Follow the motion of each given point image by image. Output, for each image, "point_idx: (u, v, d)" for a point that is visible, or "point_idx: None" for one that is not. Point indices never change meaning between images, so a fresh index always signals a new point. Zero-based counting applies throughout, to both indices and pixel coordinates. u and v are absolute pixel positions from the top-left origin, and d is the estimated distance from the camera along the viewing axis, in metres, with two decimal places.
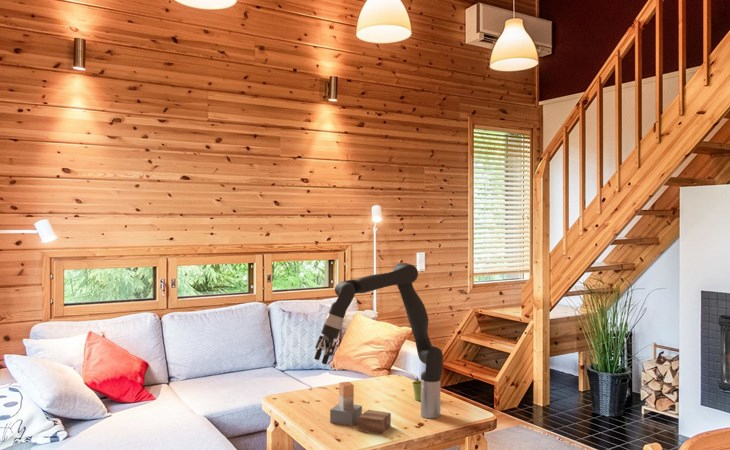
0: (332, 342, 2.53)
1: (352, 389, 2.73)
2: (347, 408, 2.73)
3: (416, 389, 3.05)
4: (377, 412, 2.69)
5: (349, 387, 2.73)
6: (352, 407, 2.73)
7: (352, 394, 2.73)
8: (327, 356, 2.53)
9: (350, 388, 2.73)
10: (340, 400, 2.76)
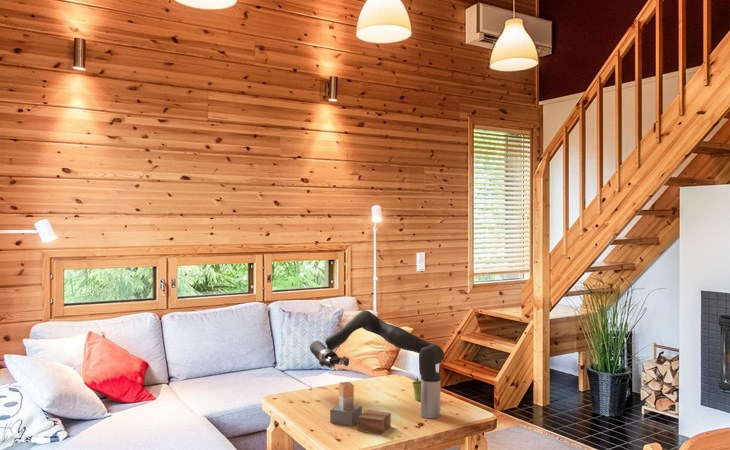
0: (319, 362, 2.92)
1: (352, 389, 2.73)
2: (347, 408, 2.73)
3: (416, 389, 3.05)
4: (377, 412, 2.69)
5: (349, 387, 2.73)
6: (352, 407, 2.73)
7: (352, 394, 2.73)
8: (325, 364, 2.87)
9: (350, 388, 2.73)
10: (340, 400, 2.76)
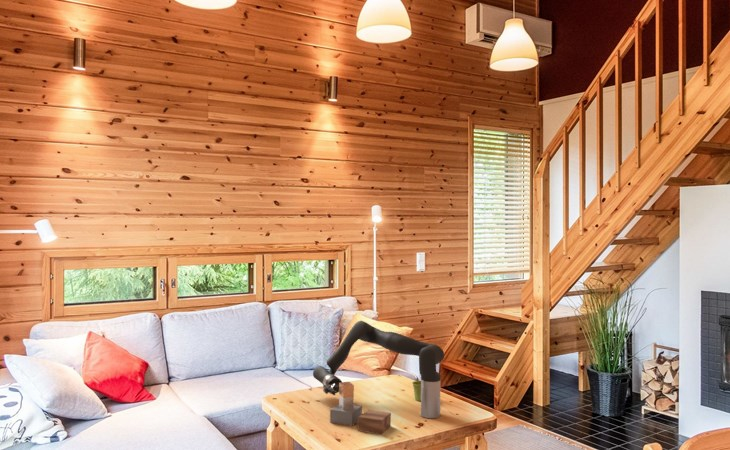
0: (323, 389, 2.86)
1: (352, 389, 2.73)
2: (347, 408, 2.73)
3: (416, 389, 3.05)
4: (377, 412, 2.69)
5: (349, 387, 2.73)
6: (352, 407, 2.73)
7: (352, 394, 2.73)
8: (330, 391, 2.81)
9: (350, 388, 2.73)
10: (340, 400, 2.76)
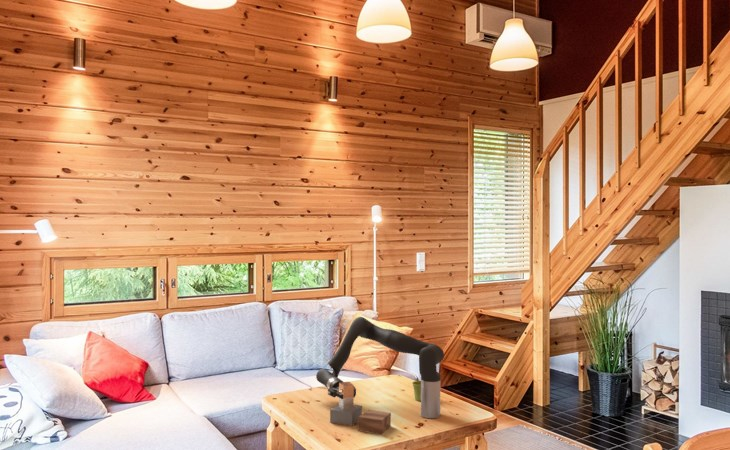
0: (328, 393, 2.79)
1: (352, 389, 2.73)
2: (347, 408, 2.73)
3: (416, 389, 3.05)
4: (377, 412, 2.69)
5: (349, 387, 2.73)
6: (352, 407, 2.73)
7: (352, 394, 2.73)
8: (337, 395, 2.75)
9: (349, 388, 2.73)
10: (340, 400, 2.76)
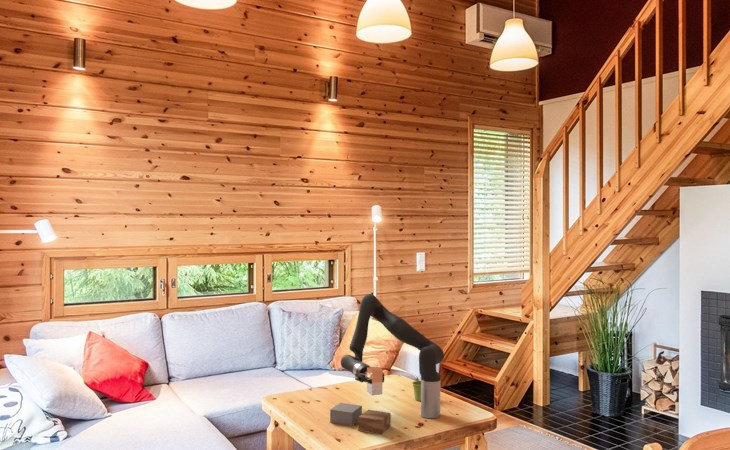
0: (355, 378, 2.69)
1: (381, 374, 2.63)
2: (376, 393, 2.62)
3: (416, 389, 3.05)
4: (377, 412, 2.69)
5: (378, 372, 2.63)
6: (381, 392, 2.63)
7: (381, 379, 2.63)
8: (366, 379, 2.65)
9: (378, 373, 2.63)
10: (368, 385, 2.65)
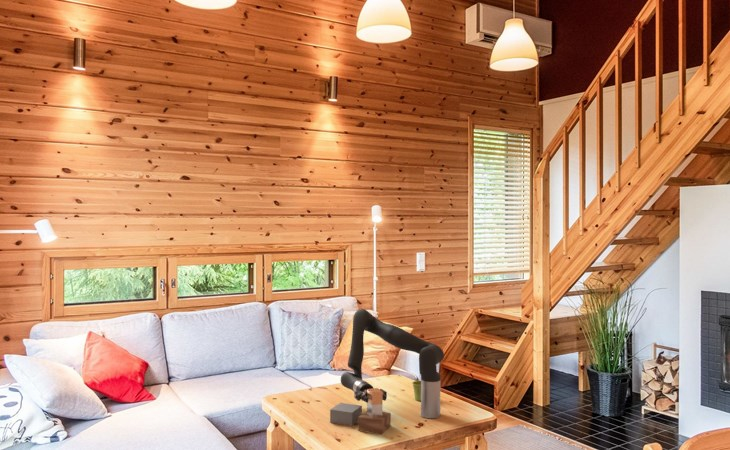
0: (354, 396, 2.70)
1: (381, 396, 2.63)
2: (376, 415, 2.63)
3: (416, 389, 3.05)
4: None
5: (378, 394, 2.63)
6: (381, 414, 2.63)
7: (381, 401, 2.63)
8: (362, 398, 2.65)
9: (378, 395, 2.63)
10: (368, 407, 2.65)
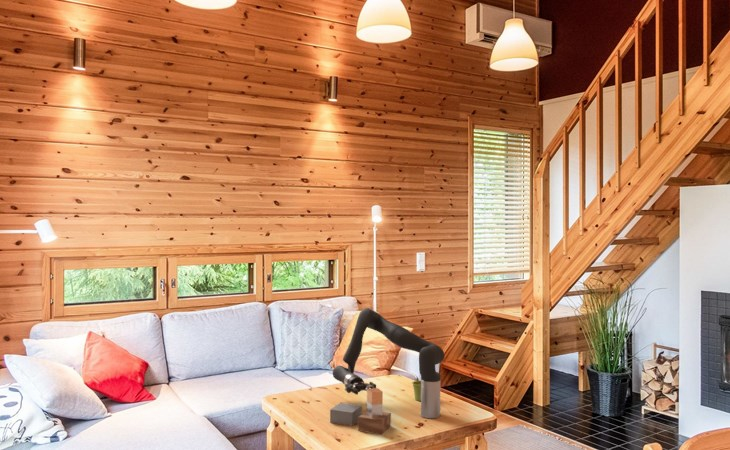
0: (345, 388, 2.82)
1: (381, 396, 2.63)
2: (376, 415, 2.63)
3: (416, 389, 3.05)
4: None
5: (378, 394, 2.63)
6: (381, 414, 2.63)
7: (381, 401, 2.63)
8: (352, 390, 2.77)
9: (378, 395, 2.63)
10: (368, 407, 2.65)
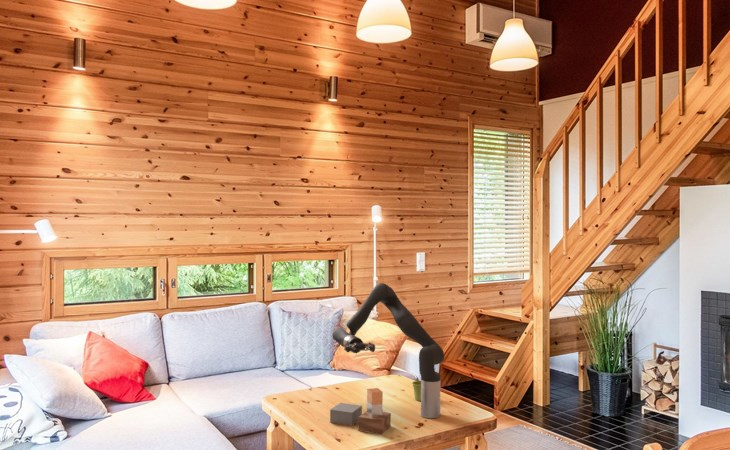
0: (344, 348, 2.84)
1: (381, 396, 2.63)
2: (376, 415, 2.63)
3: (416, 389, 3.05)
4: None
5: (378, 394, 2.63)
6: (381, 414, 2.63)
7: (381, 401, 2.63)
8: (351, 349, 2.79)
9: (378, 395, 2.63)
10: (368, 407, 2.65)
